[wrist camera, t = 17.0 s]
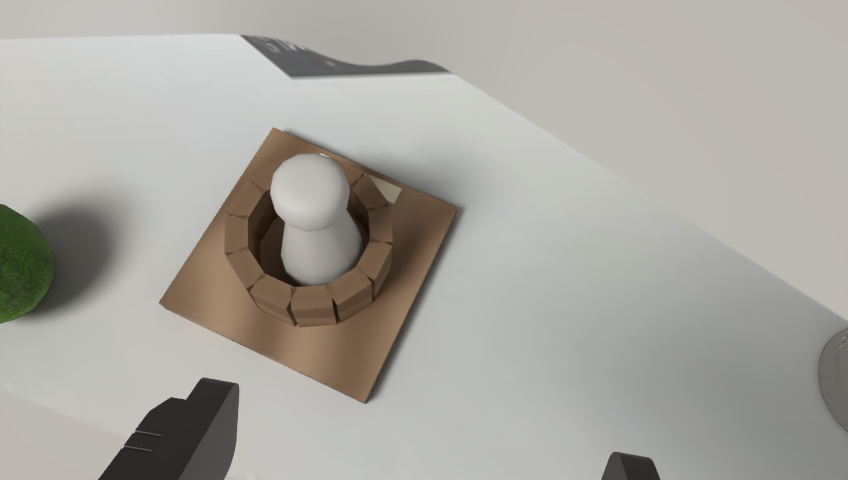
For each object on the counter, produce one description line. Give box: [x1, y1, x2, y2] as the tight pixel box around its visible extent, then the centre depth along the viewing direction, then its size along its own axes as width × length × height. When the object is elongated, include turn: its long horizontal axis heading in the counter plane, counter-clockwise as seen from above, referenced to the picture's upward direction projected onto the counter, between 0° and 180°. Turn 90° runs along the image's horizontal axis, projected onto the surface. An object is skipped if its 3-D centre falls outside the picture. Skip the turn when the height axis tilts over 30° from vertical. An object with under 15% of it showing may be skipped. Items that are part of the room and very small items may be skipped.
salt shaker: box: [270, 153, 366, 287], centre depth 39 cm, size 6×6×13 cm
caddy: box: [159, 127, 457, 404], centre depth 44 cm, size 16×16×6 cm
